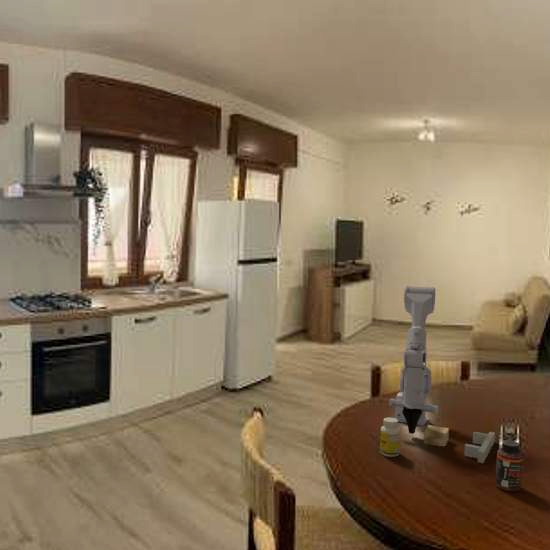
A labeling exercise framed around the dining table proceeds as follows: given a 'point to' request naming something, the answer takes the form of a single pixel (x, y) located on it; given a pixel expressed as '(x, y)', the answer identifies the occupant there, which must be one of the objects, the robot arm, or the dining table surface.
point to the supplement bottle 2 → (509, 466)
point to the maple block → (436, 435)
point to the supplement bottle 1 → (390, 438)
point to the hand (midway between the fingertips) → (411, 432)
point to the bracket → (478, 451)
